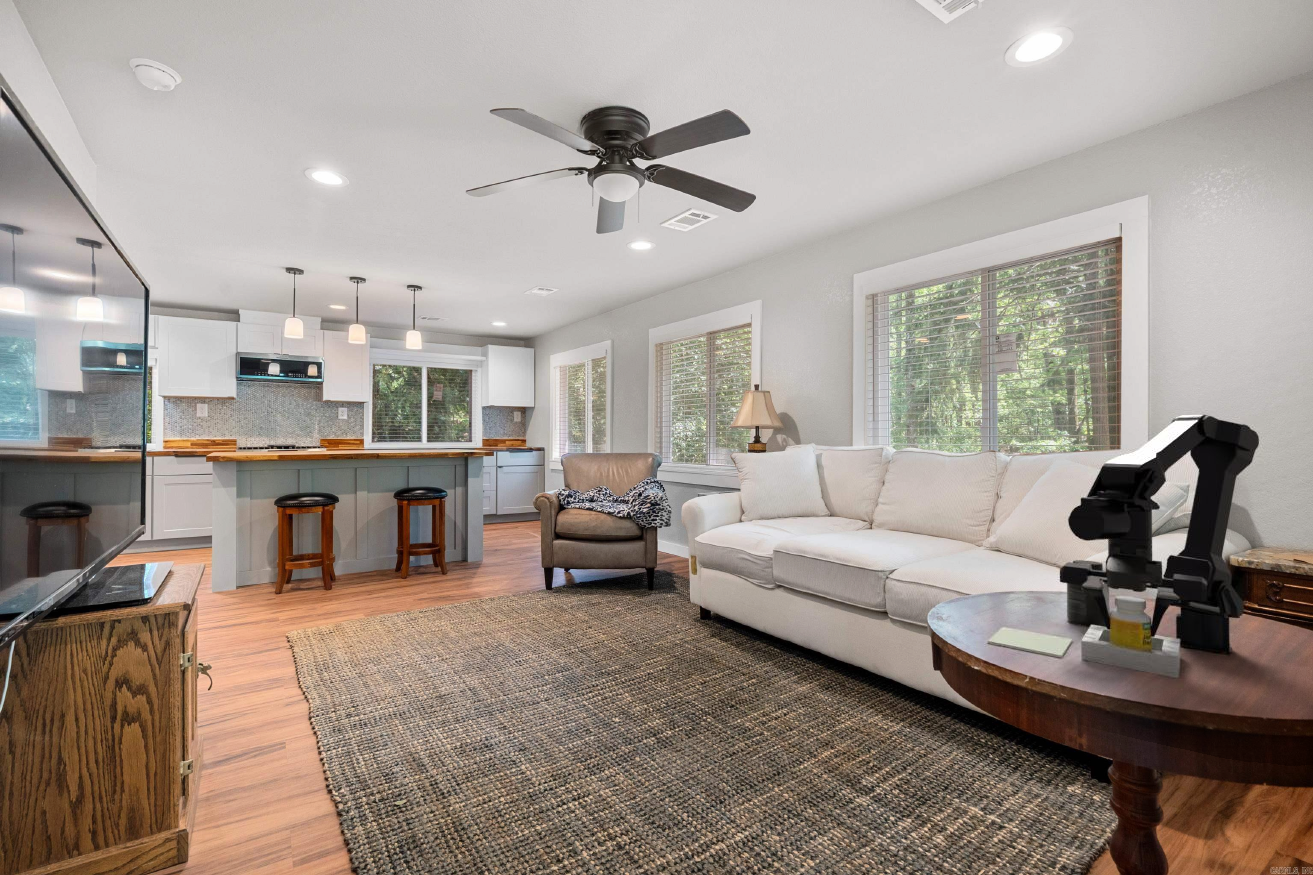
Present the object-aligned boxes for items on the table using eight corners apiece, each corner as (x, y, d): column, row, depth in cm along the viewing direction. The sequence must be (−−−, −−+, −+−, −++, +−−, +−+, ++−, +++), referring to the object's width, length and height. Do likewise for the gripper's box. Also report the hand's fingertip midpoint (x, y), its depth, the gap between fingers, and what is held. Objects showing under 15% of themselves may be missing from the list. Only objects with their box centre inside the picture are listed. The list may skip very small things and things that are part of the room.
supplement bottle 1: (1117, 629, 115) (1116, 566, 115) (1076, 627, 116) (1076, 564, 116) (1098, 619, 121) (1097, 559, 121) (1060, 617, 123) (1060, 558, 123)
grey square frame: (1180, 657, 100) (1180, 638, 100) (1178, 678, 91) (1178, 658, 91) (1091, 641, 108) (1091, 624, 108) (1081, 659, 99) (1081, 640, 99)
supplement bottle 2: (1113, 649, 103) (1113, 592, 103) (1154, 657, 99) (1153, 598, 99) (1107, 657, 99) (1106, 598, 99) (1149, 665, 95) (1148, 604, 95)
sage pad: (1072, 641, 107) (1072, 639, 107) (1061, 657, 99) (1061, 655, 99) (1002, 628, 115) (1002, 626, 115) (987, 643, 107) (987, 640, 107)
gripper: (1053, 537, 99) (1054, 632, 99) (1206, 550, 87) (1207, 659, 87) (1064, 530, 108) (1065, 617, 107) (1206, 541, 95) (1207, 640, 95)
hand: (1130, 632), depth 99 cm, fingers closed on supplement bottle 2, 5 cm apart
